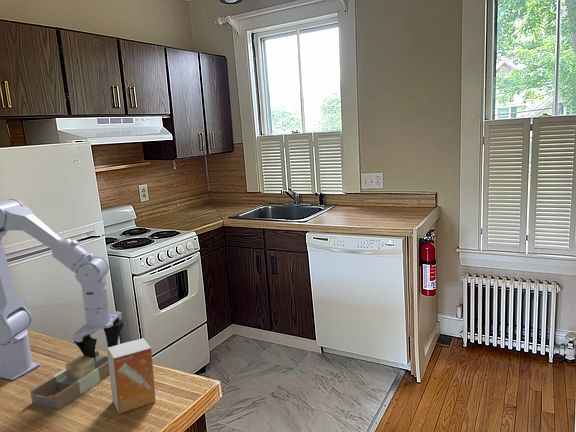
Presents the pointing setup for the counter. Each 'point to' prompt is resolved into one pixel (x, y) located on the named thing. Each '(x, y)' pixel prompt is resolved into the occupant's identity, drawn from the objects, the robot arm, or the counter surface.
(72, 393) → the board
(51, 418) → the counter surface
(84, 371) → the maple block
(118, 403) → the small box
